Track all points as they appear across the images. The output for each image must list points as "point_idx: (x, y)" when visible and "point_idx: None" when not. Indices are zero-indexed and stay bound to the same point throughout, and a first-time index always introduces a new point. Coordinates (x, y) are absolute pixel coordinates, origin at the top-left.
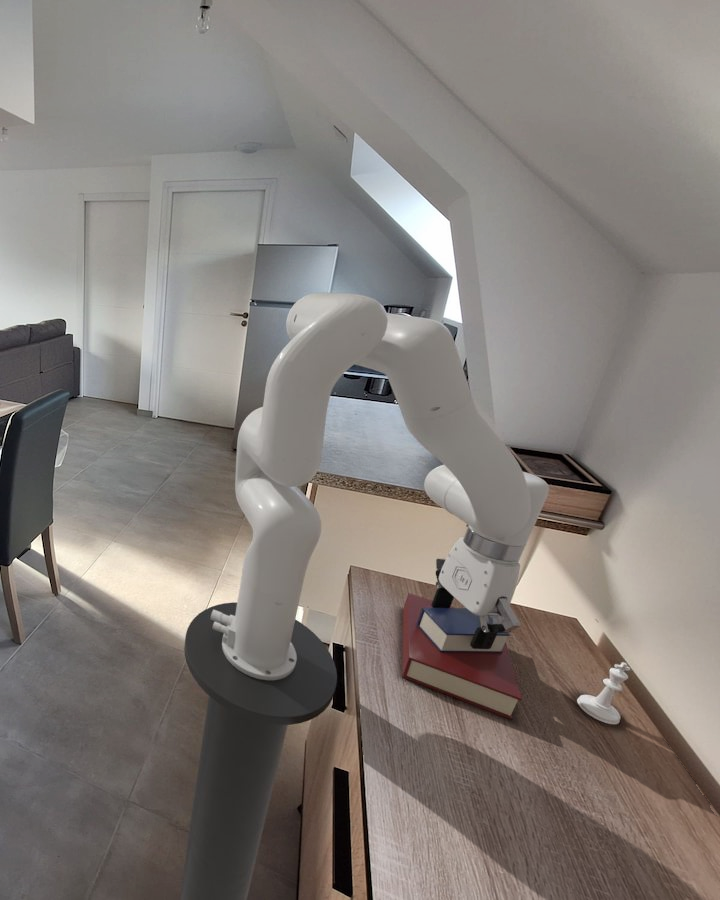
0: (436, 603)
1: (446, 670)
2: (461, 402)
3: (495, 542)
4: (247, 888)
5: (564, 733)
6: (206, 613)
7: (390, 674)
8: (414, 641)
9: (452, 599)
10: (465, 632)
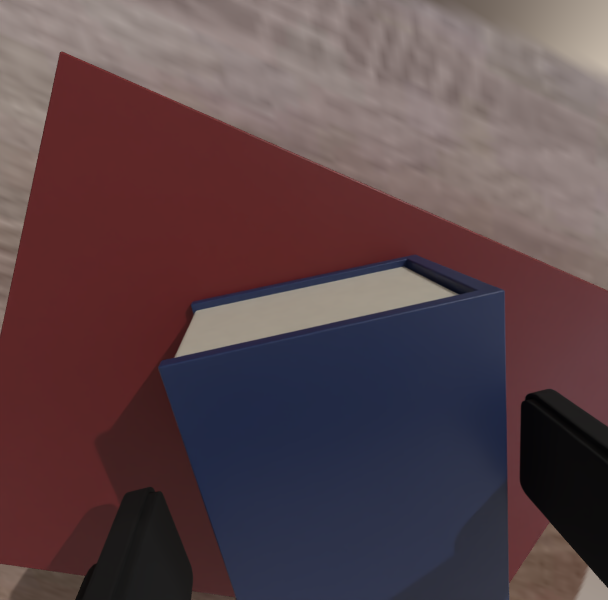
0: (557, 429)
1: (22, 272)
2: None
3: None
4: None
5: (43, 577)
6: None
7: (129, 39)
8: (252, 172)
9: (588, 561)
10: (224, 513)
